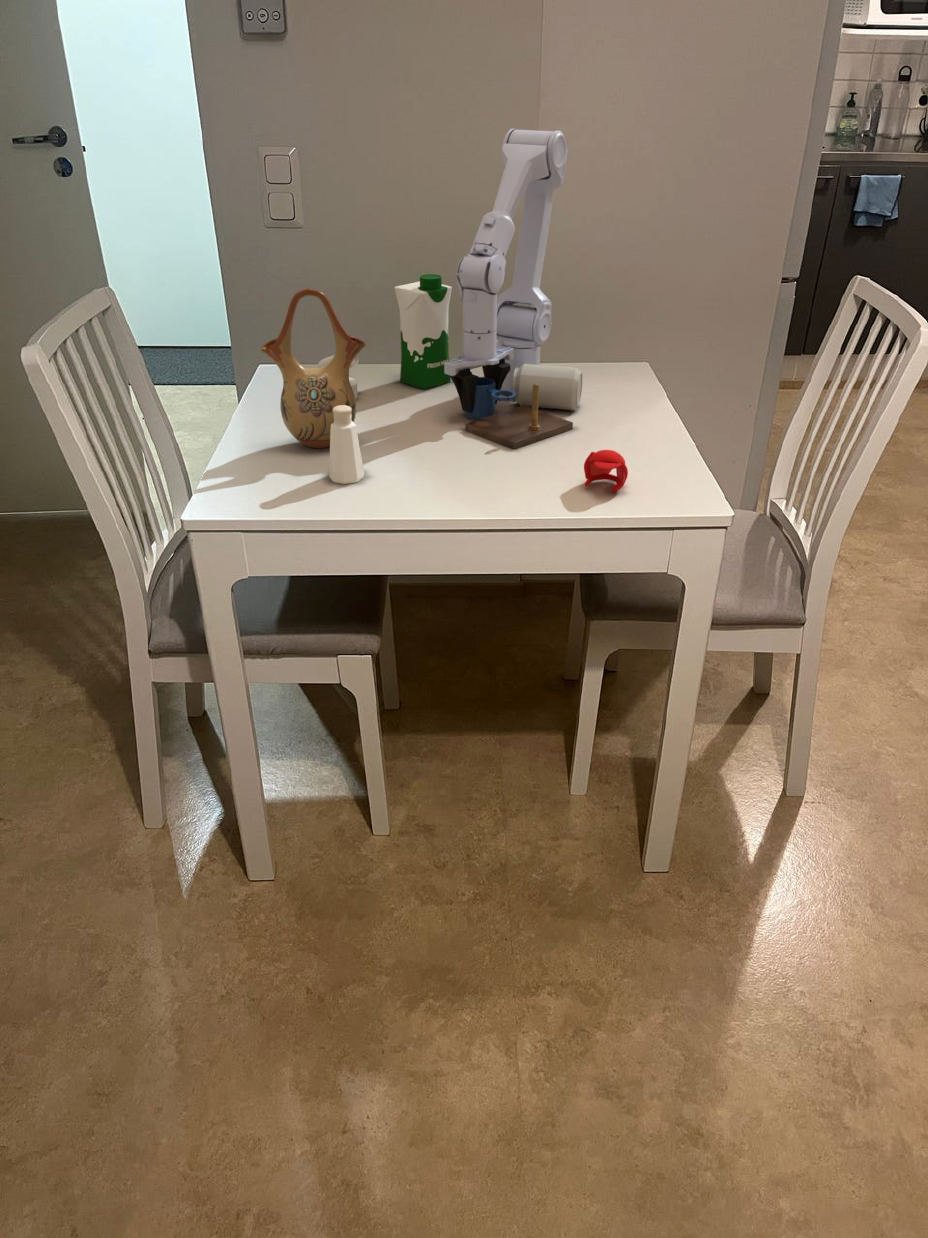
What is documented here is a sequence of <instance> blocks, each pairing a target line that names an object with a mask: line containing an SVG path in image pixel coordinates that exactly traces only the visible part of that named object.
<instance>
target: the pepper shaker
mask: <svg viewBox="0 0 928 1238" xmlns="http://www.w3.org/2000/svg"><path fill="white" fill-rule="evenodd" d="M351 411H352V408H351V407H349V406H346V405H339V406H336V407H334V408H333V414H334V415H333V416H334V423H332V424H331V430H330V447H329V466H328V467H329V468H328V469H329V470H328V472H329V473H328V476H329V478H330V480H331V481H332V482H333V483H336V484H342V485H348V484H355V483H359V482H360V481H362V479H364V478H365V476H366V475H365V471H364V464H363V459H362V453H361V447H360V442H359V435H358V430H357V425H356V423H355V421H354V422H353V421H352V419H351V418H352V417H351V416H352V414H351Z"/></svg>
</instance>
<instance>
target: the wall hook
mask: <svg viewBox="0 0 928 1238" xmlns="http://www.w3.org/2000/svg"><path fill="white" fill-rule="evenodd" d="M334 355H335V354H333V355H331V356H328V357H325V358H323V359H321V360H319V362H318V363H317V365H316V368H319V367H323V366H325V365H327V364H328V363H329V362H330V361H331V360H332V359H333V357H334ZM359 360H360V358H359V353H358V354H357V356H356V357H355V358H354V360H353V361H352V363H351V366H350V368H353V367H355V366H357V365H358V364H359ZM349 382H350V385H351V387H352V390H353V392H354V395H355V400H356V399H357V398H358V396H359V393H358V381H357V380H356V379H355V378H353V377H350V376H349Z"/></svg>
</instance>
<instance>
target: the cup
mask: <svg viewBox="0 0 928 1238" xmlns="http://www.w3.org/2000/svg"><path fill="white" fill-rule="evenodd" d="M478 377H479V378H478V380H477V383H476V387H475V393H474V408H473V412H470V413H469V412H467V411H464V410H463V413H464V414H465V416H466V418H468V419H471V420H478V419H481V418H484V417H488V416H491V415H494V414H496V405H495V400H497V402H498V401H499V402H510V401H513V400H514V399H516V393H515V392H513V391H510V390H509V391H508V390H496V389H495V381H494V380H493V379H491V378H486V377H484V376H478ZM507 394H508V396H500V395H507ZM496 395H499V396H496ZM510 395H511V396H510Z"/></svg>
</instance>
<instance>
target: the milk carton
mask: <svg viewBox="0 0 928 1238" xmlns="http://www.w3.org/2000/svg"><path fill="white" fill-rule="evenodd" d="M442 281H443V280H442V275H440V274H434V273H433V274H432V273H430V274H429V273H427V274H422V275H420V276H419V281H415V282H411V283H407V284H402V285H397V286H394V292H395V296H396V301H397V305H398V308H399V327H400V331H399V332H400V374H399V375H400V376H399V378H400V379H399V382H401V383H403V384H407V385H409V386H413V387H416V388H419V389H422V390H428V389H430V388H434V387H438V386H440V385H441V386H442V385H444V384H448V383H451V382H452V379H451V378H450V376H449V375H447V374H445V372H444V363H445V362H448V361H450V348H449V347H450V346H449V343H450V342H449V308H450V301H451V295H452V291H453V286H450V285H447V284H442Z"/></svg>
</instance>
